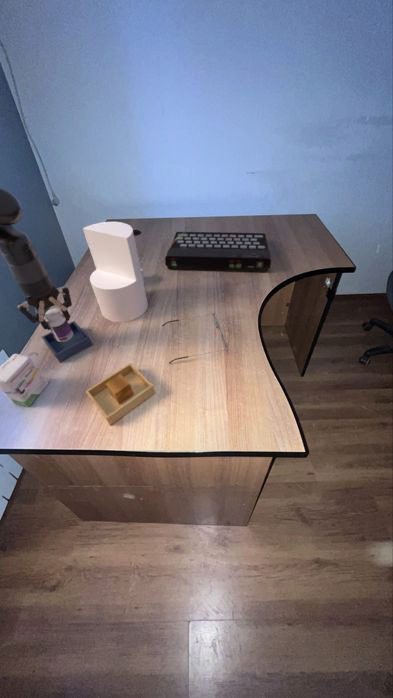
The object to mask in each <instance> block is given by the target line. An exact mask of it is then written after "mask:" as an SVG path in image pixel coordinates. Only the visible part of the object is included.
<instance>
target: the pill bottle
mask: <svg viewBox="0 0 393 698" xmlns="http://www.w3.org/2000/svg"><path fill="white" fill-rule="evenodd" d="M44 317H46V322H47V324H48V326H49V328H50V330H49V331H50V332H52V334H53V335H54V337H55V339H56V340H57V341H59V342H65V341H68V340H70V339H71V338H72V337H73V332H72V329H71V328H70V326H69V321H67V320H66V318H65V316H64V315H63V314H62V312H61V310H59V309H58V308H51V309H48V310H47V311H45V312H44Z"/></svg>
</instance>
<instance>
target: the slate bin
mask: <svg viewBox="0 0 393 698" xmlns="http://www.w3.org/2000/svg"><path fill="white" fill-rule="evenodd" d="M68 324H69V326H70V328H71V329H72V332H73V337H72V338H71V339H70V340H68V341H65V342H59V341H57V340H56V339H55V337H54V335H53V334H52V332H51V331H50V332H48V333H46V334H44V335H42V336H41V338H42V340H43V342H44V344H45V345H46V346H47V347H48V349H49V350H50V352H51V353H52V355H54V357H55V358H56V359H57V361H58V362H59V363H63V362H64V361H66V360H67V359H70V358H72V357H73V356H75V355H77V354H79V353H81V352H83V351H84V350H86V349H88V348H89V347H92V346H93V345H94V344H93V342H92V339H91V338H90V337H91V336H90V335H88V334H87V333H86V332H85V331H84V329H83V328H81V326H80V325H79V324H78V323H77V322H76V321H75V320H72V321H70V322H68Z"/></svg>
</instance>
